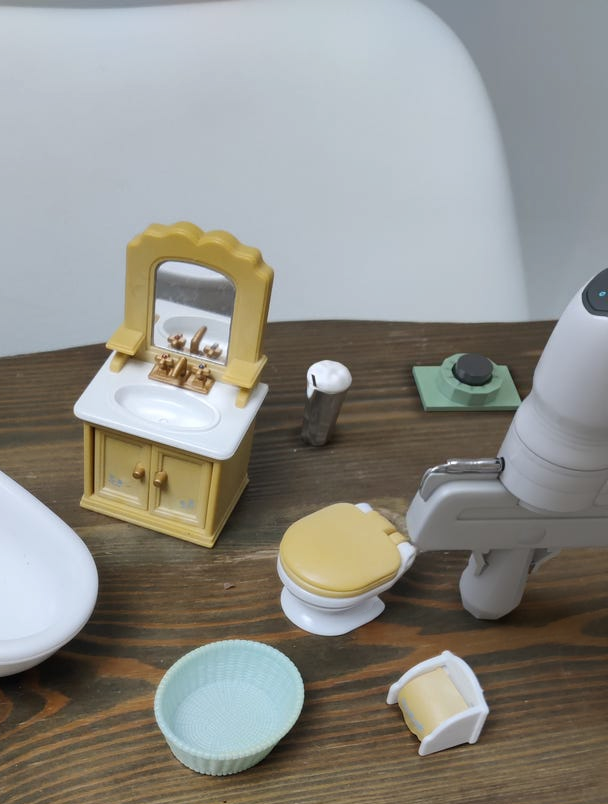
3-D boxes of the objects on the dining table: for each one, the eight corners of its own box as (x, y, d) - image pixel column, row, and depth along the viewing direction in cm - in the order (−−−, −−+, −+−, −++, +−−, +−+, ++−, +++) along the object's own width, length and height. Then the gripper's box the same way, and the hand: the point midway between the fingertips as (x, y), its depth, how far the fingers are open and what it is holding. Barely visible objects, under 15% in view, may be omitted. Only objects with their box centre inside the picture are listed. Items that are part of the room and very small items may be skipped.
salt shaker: (450, 620, 93) (495, 527, 82) (453, 575, 96) (496, 480, 86) (513, 632, 92) (566, 540, 82) (514, 586, 95) (565, 492, 85)
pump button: (484, 364, 112) (488, 353, 111) (493, 387, 110) (497, 376, 108) (449, 364, 112) (453, 353, 110) (457, 387, 109) (462, 376, 108)
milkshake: (281, 437, 107) (295, 363, 99) (313, 416, 109) (330, 341, 101) (312, 459, 105) (329, 385, 97) (344, 437, 107) (364, 363, 99)
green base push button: (504, 370, 115) (511, 352, 113) (521, 410, 111) (528, 393, 108) (411, 371, 114) (417, 353, 112) (425, 411, 110) (431, 394, 108)
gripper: (438, 489, 77) (396, 598, 88) (694, 485, 77) (619, 594, 89) (421, 433, 80) (382, 545, 91) (665, 430, 81) (597, 541, 92)
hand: (501, 569), depth 90 cm, fingers closed on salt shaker, 3 cm apart
